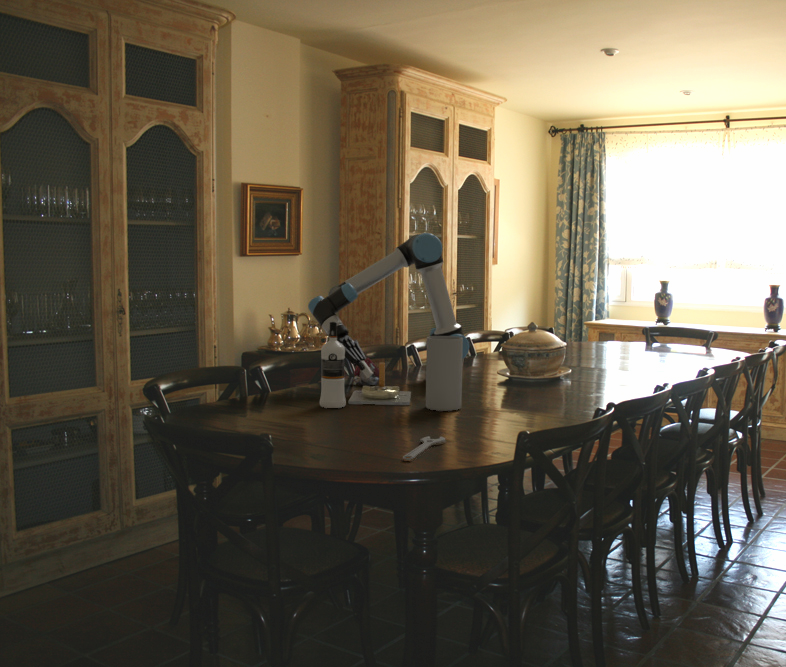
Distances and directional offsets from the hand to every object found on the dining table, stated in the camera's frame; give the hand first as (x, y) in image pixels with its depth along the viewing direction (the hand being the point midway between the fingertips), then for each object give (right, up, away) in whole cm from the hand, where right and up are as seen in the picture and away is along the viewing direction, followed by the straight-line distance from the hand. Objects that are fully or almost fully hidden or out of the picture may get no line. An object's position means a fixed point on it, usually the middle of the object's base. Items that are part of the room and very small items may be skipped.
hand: (370, 375), depth 282 cm
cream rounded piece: (+4, -7, -8) cm, 12 cm away
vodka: (-12, -10, -23) cm, 28 cm away
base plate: (+4, -8, -8) cm, 12 cm away
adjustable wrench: (+16, -16, -82) cm, 85 cm away
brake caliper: (-2, -5, +25) cm, 25 cm away
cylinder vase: (+27, -10, -24) cm, 37 cm away
